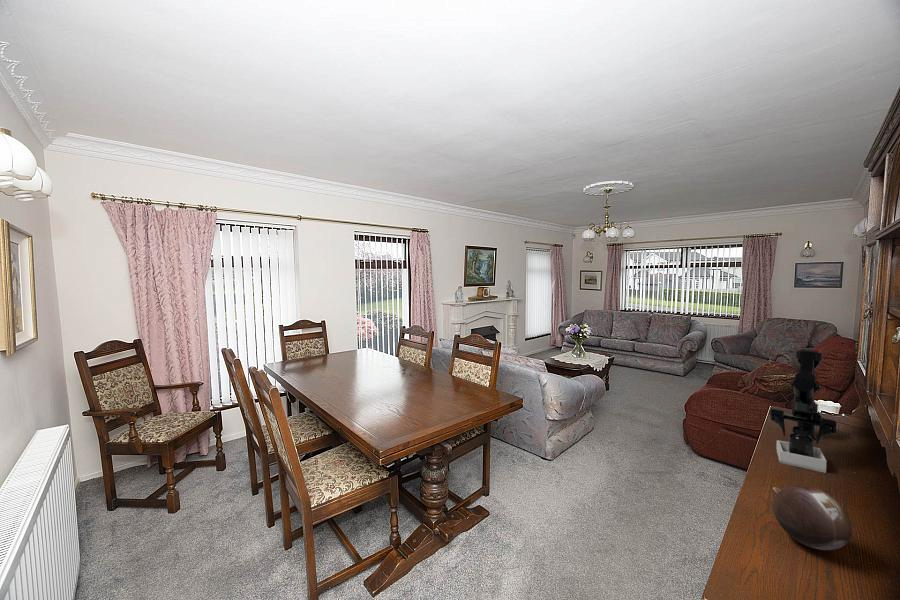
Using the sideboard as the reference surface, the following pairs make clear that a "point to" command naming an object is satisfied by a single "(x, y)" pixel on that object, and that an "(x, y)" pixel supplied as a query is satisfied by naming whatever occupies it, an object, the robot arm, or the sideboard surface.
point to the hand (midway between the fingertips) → (800, 439)
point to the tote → (801, 458)
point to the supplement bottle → (801, 442)
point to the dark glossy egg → (812, 517)
